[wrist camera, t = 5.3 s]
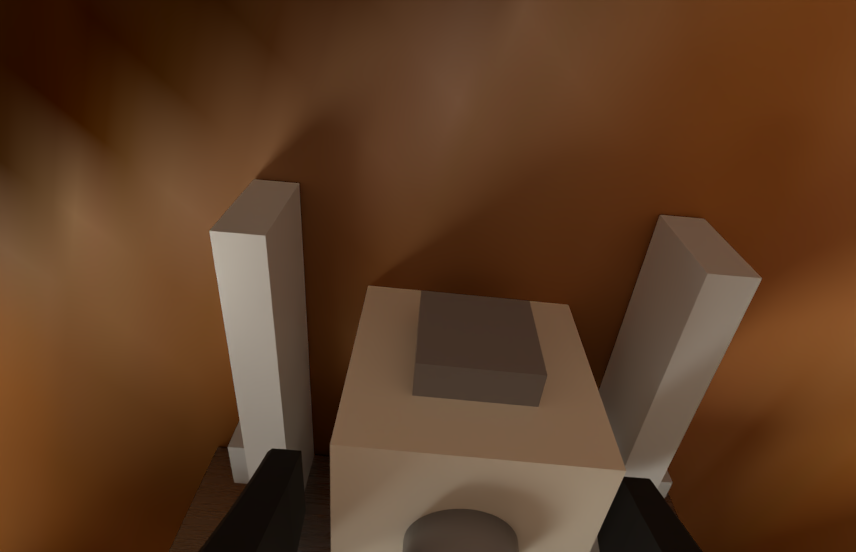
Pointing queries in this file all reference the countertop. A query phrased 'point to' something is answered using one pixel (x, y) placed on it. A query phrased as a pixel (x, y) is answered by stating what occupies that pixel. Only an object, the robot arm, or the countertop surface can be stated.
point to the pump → (469, 429)
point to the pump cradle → (623, 380)
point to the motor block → (223, 492)
